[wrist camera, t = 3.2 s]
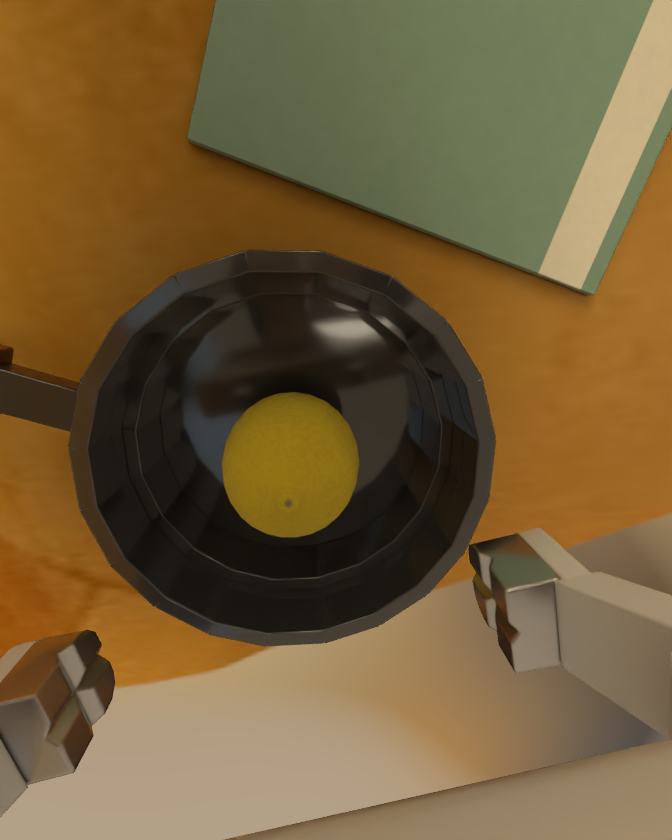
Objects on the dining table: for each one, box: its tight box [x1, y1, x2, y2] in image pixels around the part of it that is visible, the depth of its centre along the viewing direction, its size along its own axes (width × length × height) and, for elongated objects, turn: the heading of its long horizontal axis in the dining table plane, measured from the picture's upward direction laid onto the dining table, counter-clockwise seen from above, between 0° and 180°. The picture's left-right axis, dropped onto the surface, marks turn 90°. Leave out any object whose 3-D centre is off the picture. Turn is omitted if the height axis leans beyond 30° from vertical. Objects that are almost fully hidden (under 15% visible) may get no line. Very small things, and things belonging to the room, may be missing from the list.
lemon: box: [222, 392, 359, 537], centre depth 17 cm, size 6×6×8 cm
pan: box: [68, 250, 496, 646], centre depth 18 cm, size 16×16×6 cm
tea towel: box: [187, 0, 672, 295], centre depth 17 cm, size 20×14×1 cm
